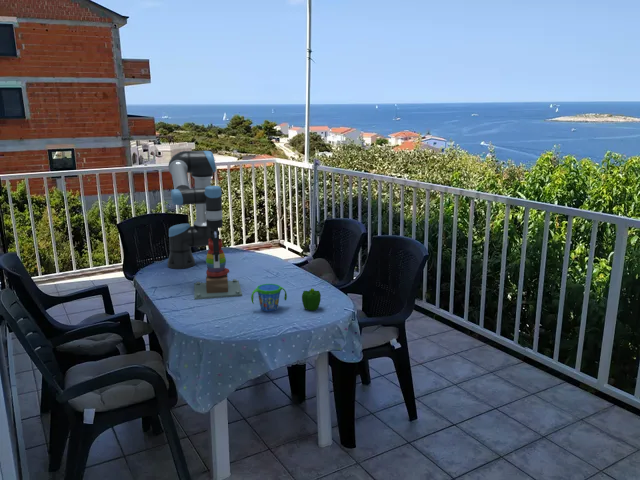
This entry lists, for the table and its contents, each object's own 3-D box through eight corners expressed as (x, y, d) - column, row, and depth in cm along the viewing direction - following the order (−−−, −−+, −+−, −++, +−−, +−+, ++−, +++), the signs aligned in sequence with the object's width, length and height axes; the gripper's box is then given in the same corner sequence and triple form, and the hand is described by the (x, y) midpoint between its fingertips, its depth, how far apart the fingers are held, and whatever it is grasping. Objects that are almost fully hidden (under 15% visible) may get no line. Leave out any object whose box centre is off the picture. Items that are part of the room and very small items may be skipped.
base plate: (194, 285, 262) (194, 281, 261) (238, 282, 267) (238, 278, 266) (194, 299, 241) (194, 295, 241) (242, 296, 246) (242, 292, 246)
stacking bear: (230, 271, 257) (229, 235, 253) (224, 277, 247) (223, 240, 243) (208, 270, 258) (207, 235, 254) (202, 276, 248) (200, 240, 244)
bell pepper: (302, 305, 234) (302, 284, 232) (320, 305, 234) (320, 284, 231) (301, 312, 226) (301, 290, 223) (320, 312, 225) (320, 290, 223)
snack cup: (285, 303, 236) (284, 282, 234) (288, 311, 226) (288, 289, 224) (250, 306, 233) (249, 284, 230) (252, 314, 223) (252, 292, 220)
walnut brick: (207, 284, 259) (206, 273, 258) (227, 283, 261) (227, 272, 260) (206, 293, 247) (206, 281, 245) (228, 292, 248) (227, 280, 247)
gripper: (205, 215, 255) (207, 259, 261) (206, 223, 235) (209, 271, 240) (221, 214, 257) (223, 258, 262) (223, 223, 236) (225, 270, 241)
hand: (216, 264), depth 251 cm, fingers closed on stacking bear, 9 cm apart
